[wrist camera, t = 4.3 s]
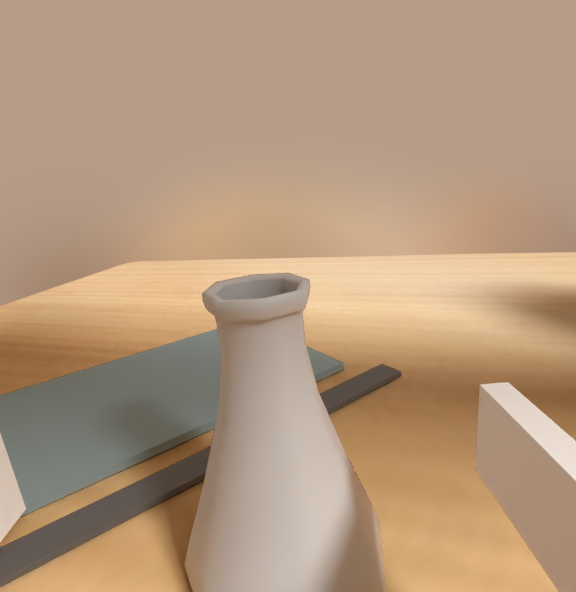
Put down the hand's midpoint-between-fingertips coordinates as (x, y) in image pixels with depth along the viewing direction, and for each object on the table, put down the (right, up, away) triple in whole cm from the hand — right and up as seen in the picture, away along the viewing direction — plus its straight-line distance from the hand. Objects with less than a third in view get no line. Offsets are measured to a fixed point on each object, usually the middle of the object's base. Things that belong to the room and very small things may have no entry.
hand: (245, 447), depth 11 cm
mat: (-9, -3, +14) cm, 17 cm away
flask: (+1, -5, +4) cm, 6 cm away
